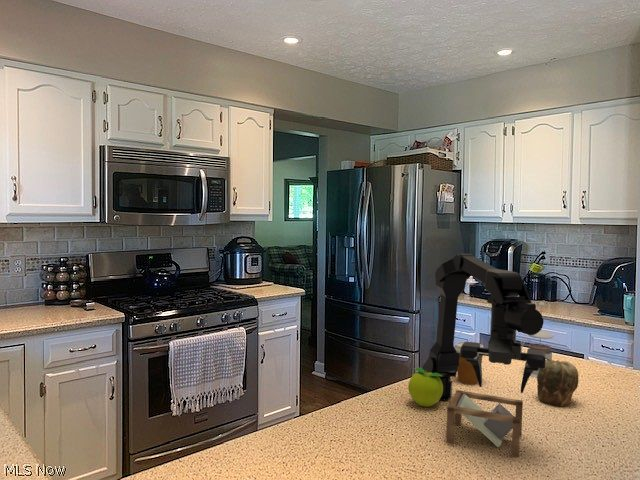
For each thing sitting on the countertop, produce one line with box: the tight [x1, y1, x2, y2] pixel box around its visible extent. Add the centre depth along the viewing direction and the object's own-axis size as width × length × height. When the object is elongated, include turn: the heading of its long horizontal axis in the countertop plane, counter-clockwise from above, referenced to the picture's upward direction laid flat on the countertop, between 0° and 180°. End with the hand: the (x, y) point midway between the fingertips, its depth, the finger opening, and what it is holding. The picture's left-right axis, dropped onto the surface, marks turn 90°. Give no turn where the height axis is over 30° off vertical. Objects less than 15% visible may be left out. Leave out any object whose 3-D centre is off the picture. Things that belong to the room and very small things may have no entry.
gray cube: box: [484, 403, 514, 440], centre depth 120 cm, size 5×5×5 cm
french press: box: [520, 301, 554, 379], centre depth 172 cm, size 10×12×25 cm
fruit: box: [408, 366, 443, 408], centre depth 142 cm, size 9×9×10 cm
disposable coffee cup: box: [454, 341, 484, 385], centre depth 163 cm, size 10×10×12 cm
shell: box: [536, 359, 580, 407], centre depth 147 cm, size 11×11×12 cm
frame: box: [445, 389, 524, 458], centre depth 121 cm, size 16×13×8 cm
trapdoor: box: [457, 394, 503, 448], centre depth 122 cm, size 12×9×1 cm
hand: (500, 389), depth 120 cm, fingers open, 9 cm apart
